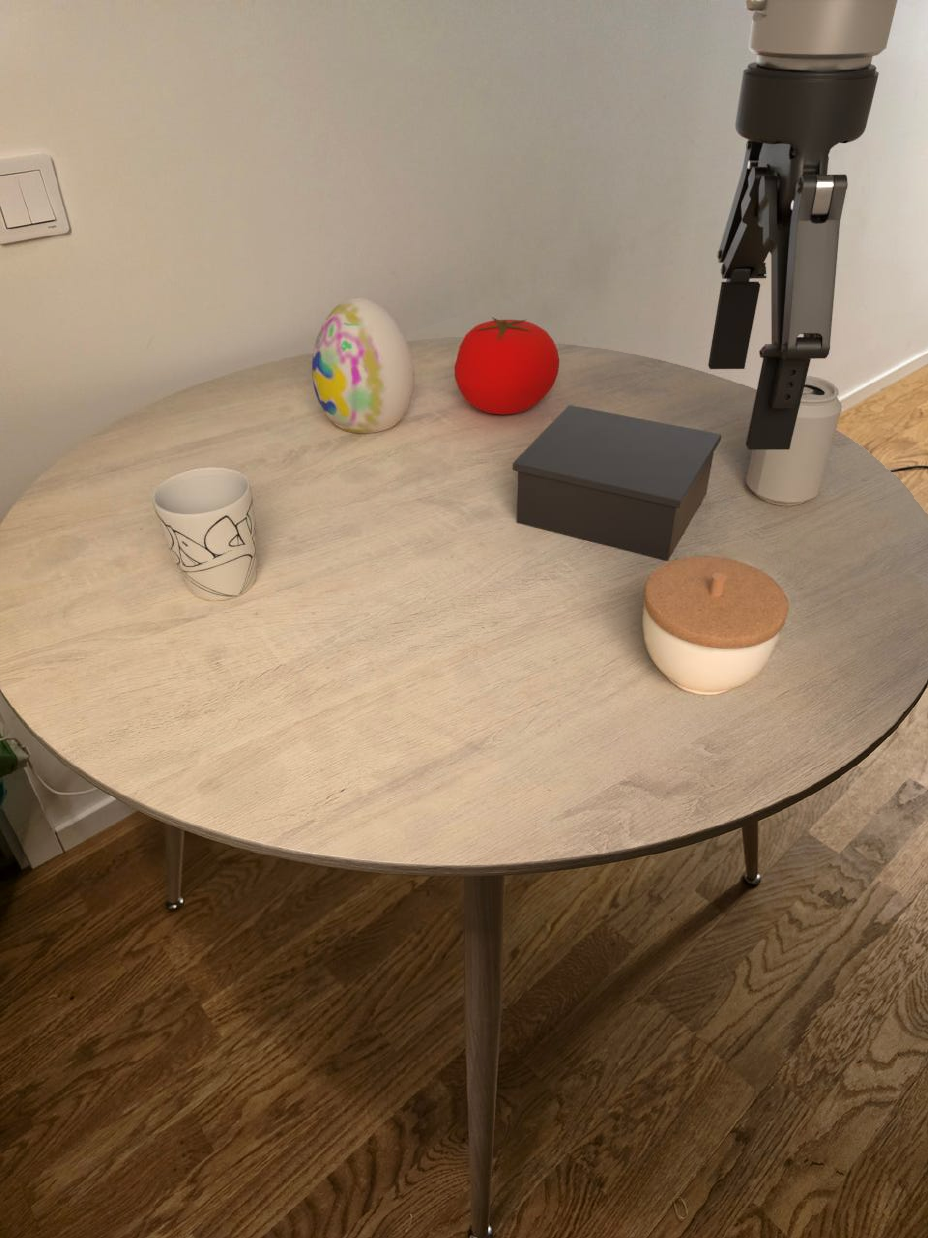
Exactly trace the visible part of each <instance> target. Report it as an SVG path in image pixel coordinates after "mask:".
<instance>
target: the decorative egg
mask: <svg viewBox="0 0 928 1238" xmlns="http://www.w3.org/2000/svg"><path fill="white" fill-rule="evenodd" d="M311 365H312V366H311V373H312V383H313V388H314V393H315V396H316V398H317V401H318V403H319V405H320V407H321V409H322V411H323V412H324V414H325V415H326V416H327V418H328V419H329V420H330V421H331V422H332V423H333V424H334V425H335V426H336V427H338V428H339V429H341V430H343V431H345V432H348V433H353V434H364V435H365V434H373V433H374V434H375V433H379V432H384V431H387V430H389V429H392V428H393V427H395V426H396V425H397V424H398V423H399V422H400V421H401V420H402V418H403V417H404V416H405V414H406V412H407V411H408V409H409V406H410V404H411V400H412V399H413V398H412V397H413V392H414V388H415V387H414V385H415V372H414V371H415V370H414V369H415V368H414V364H413V358H412V354H411V350H410V347H409V344H408V342H407V339H406V337H405V336H404V334H403V331H402V330H401V328H400V326H399V325H398V324H397V322H396V321H395V319H394V318H393V317H392V316H391V315H390V313H388V312H387V311H386V309H384V308H383V307H382V306H381V305H380V304H378V303H376V302H375V301H373V300H371V299H368V298H365V297H358V296H357V297H351V298H350V297H349V298H348V299H345V300H343V301H342V302H340V303H339V304H337V305H336V306H335V307H334V308H333V309H332V310H331V311H330V313H329V314H328V315H327V316H326V318H325V320H324V322H323V323H322V325H321V327H320V329H319V331H318V333H317V337H316V340H315V344H314V348H313V353H312V361H311Z"/></svg>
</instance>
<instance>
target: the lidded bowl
mask: <svg viewBox="0 0 928 1238" xmlns="http://www.w3.org/2000/svg"><path fill="white" fill-rule="evenodd" d="M642 608H643V609H642V633H643V640H644V644H645V647H646V650H647V652H648V655H649V657H650V659H651V661H652V662H653V663H654V665H655V666H656V667H657V668H658V670H659V671H660V672H661V673H662V674H663V675H664V676H665V678H667V680H668V681H670V682H671V683H672V684H673V685H674V686H675V687H677V688H679V689H680V690H683V691H685V692H687V693H691V694H694V695H699V696H715V695H720V694H724V693H726V692H729V691H730V690H733V689H736V688H739V687H741V686H743V685H745V684H746V683H748V682H749V681H751V680H752V679H754V678H755V677H756V676H757V675H758V674H759V673H760V672H761V671H763V669H764V668H765V666H766V665H767V663H768V662H769V660H770V659H771V657H772V655H773V654H774V651H775V649H776V647H777V646H778V642H779V639H780V637H781V633H782V630H783V628H784V627H785V624H786V620H787V617H788V613H789V601H788V598H787V595H786V593H785V591H784V590H783V588H782V587H781V586H780V585H779V583H778V582H776V580H775V579H773V578H772V577H771V576H769V575H768V574H766V572H764V571H762V570H761V569H759V568H757V567H755V566H752V565H750V564H748V563H745V562H741V561H740V560H736V559H731V558H727V557H721V556H714V555H713V556H711V555H693V556H686V557H680V558H676V559H672V560H670V561H667V562H666V563H664V564H662V565H660V566H659V567H658V568H656V569H655V570H654V571H652V573H651V574H649V576H648V577H647V580H646V581H645V586H644V591H643V607H642Z"/></svg>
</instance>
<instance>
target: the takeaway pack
mask: <svg viewBox="0 0 928 1238" xmlns="http://www.w3.org/2000/svg"><path fill="white" fill-rule="evenodd" d="M721 440H722V433H718V432H717V433H716V432H711V431H706V430H702V429H695V428H690V427H686V426H682V425H681V426H680V425H676V424H670V423H666V422H659V421H654V420H650V419H645V418H639V417H634V416H633V417H632V416H629V415H625V414H619V413H613V412H608V411H603V410H598V409H593V408H588V407H582V406H577V405H572V404H568V406H567V407H565V408H564V409H563V411H562V412H561V413H560V414H559V415H558V416H557V417H556V418H554V420H553V421H552V422H551V423H550V424H549V425H548V426H547V427H546V428H545V429H544V430H543V431H542V432H541V433H540V435H539V436H538V437H537V438H535V439H534V441H533V442H532V443H531V444H530V445H528V447H527V448H526V449H525V450H524V451H523V452H522V453H521V454H520V455H519V456H518V457H517V459H515V460H514V462H513V463H512V470H513V471H515V472H517V497H516V499H517V501H516V523H517V524H520V525H526V526H528V527H532V528H536V529H540V530H544V531H549V532H552V533H556V534H559V535H563V536H564V535H565V536H568V537H572V538H576V539H579V540H583V541H587V542H591V543H595V544H600V545H603V546H607V547H612V548H615V549H620V550H623V551H626V552H631V553H635V554H639V555H643V556H647V557H651V558H654V559H658V560H662V561H666V562H669V559H670V558H671V556H672V555H673V553H674V551H675V550H676V548H677V545H678V544H679V542H680V540H681V539H682V537H683V535H684V533H685V532H686V530H687V528H688V527H689V525H690V523H691V522H692V520H693V518H694V517H695V514H696V512H697V511H698V510H699V508H700V507H701V504H702V502H703V501H704V499H705V497H706V496H707V493H708V487H709V481H710V476H711V470H712V465H713V460H714V454H715V450H716V449H717V448H718V447H719V445H720V443H721Z"/></svg>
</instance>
